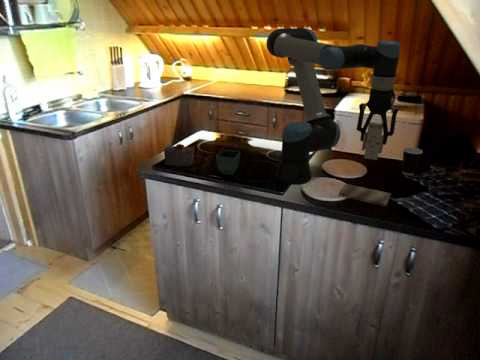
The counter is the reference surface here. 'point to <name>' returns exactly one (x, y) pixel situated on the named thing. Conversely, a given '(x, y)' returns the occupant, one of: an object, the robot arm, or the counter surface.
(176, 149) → the food item
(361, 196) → the birch board
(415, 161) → the dixie cup
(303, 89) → the robot arm
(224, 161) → the flower pot
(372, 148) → the ink cartridge box
